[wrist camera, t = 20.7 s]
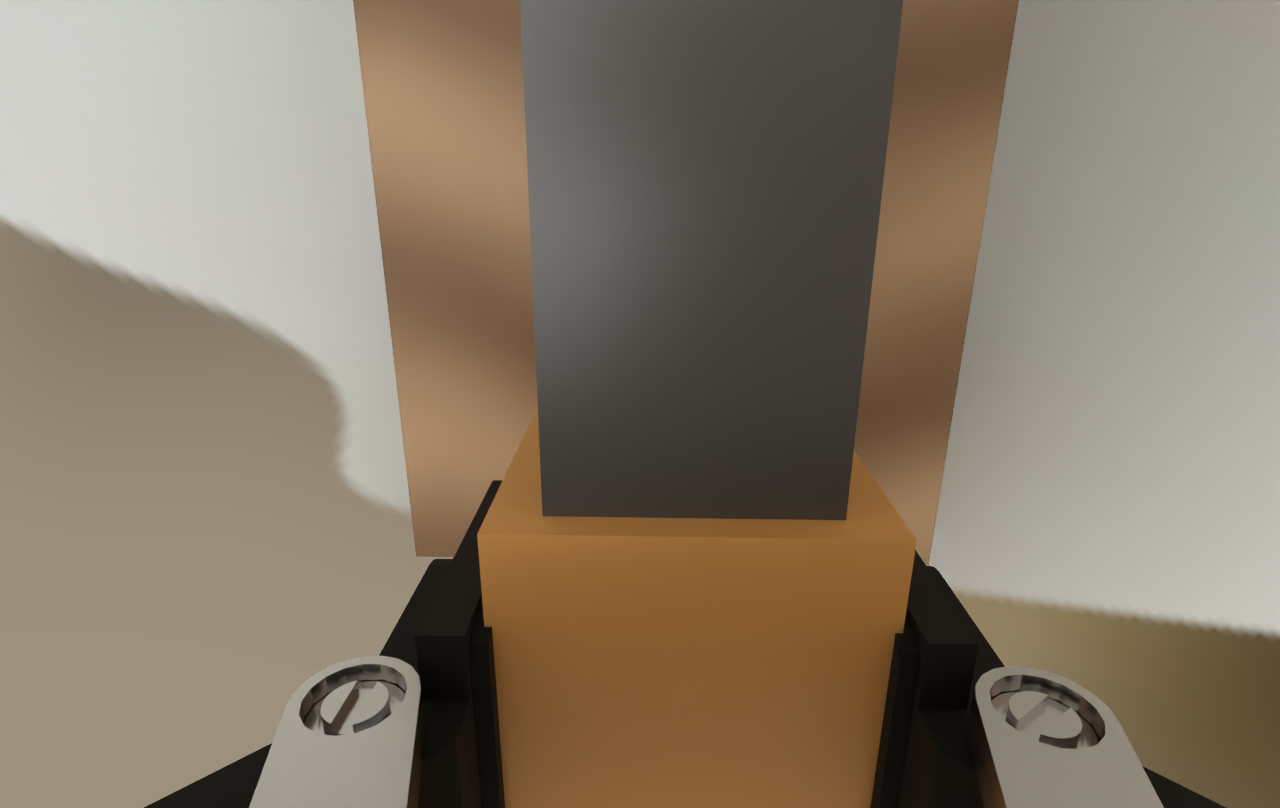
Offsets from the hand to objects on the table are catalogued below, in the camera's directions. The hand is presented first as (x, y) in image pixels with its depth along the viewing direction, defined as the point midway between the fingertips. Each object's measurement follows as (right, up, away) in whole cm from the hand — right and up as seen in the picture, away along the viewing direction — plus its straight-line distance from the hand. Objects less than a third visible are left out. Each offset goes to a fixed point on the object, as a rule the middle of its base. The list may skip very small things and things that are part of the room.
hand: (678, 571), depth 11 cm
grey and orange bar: (0, +7, -2) cm, 8 cm away
